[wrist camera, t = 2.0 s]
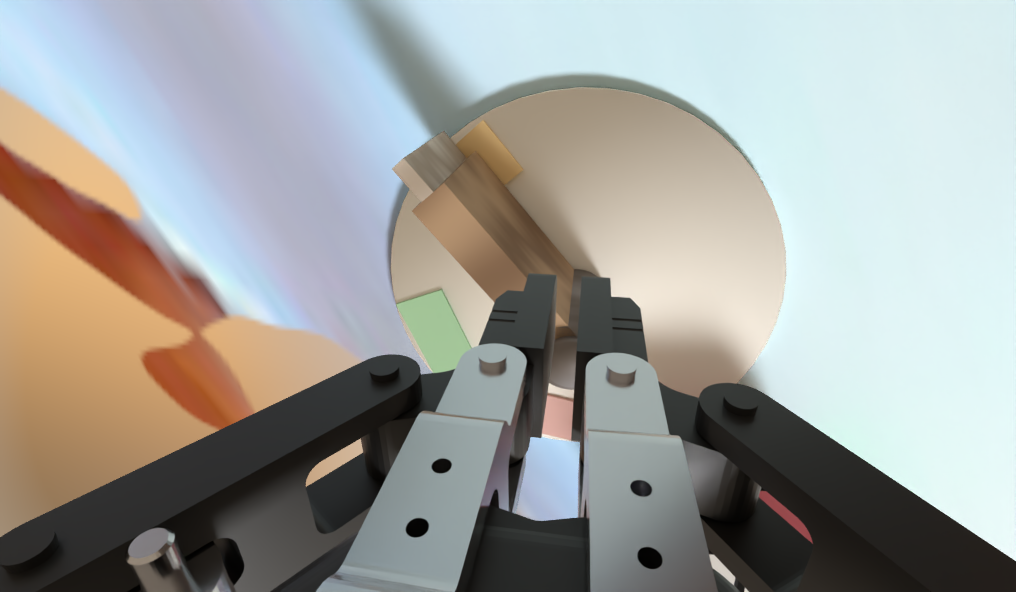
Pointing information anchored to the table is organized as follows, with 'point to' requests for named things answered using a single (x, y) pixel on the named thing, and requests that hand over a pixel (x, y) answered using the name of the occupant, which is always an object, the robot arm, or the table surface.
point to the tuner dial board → (615, 234)
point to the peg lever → (492, 236)
